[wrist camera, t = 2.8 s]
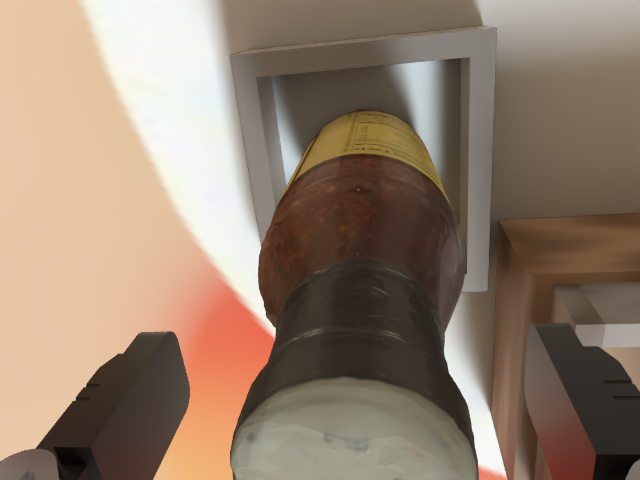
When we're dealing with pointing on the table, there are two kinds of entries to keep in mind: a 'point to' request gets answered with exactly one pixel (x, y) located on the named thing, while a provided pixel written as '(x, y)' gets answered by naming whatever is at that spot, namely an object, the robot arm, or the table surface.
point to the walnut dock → (559, 311)
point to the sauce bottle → (359, 317)
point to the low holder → (365, 52)
